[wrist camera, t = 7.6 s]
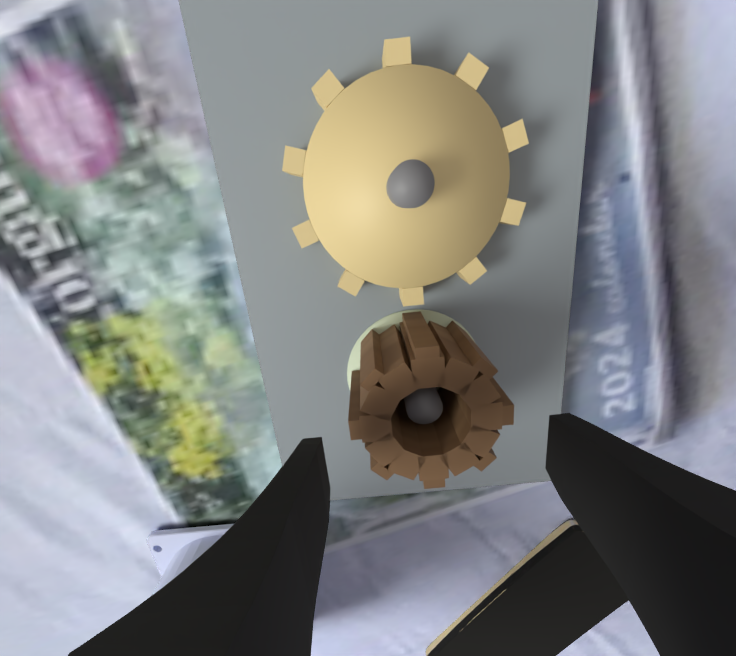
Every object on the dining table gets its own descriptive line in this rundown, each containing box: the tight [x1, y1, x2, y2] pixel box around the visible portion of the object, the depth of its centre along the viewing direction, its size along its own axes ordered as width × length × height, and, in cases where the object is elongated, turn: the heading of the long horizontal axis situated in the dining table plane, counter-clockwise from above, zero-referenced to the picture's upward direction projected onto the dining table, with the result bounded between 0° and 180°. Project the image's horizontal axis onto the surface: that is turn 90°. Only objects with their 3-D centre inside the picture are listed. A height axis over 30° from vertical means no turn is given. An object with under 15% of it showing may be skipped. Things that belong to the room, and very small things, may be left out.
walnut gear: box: [348, 311, 514, 489], centre depth 14 cm, size 6×6×4 cm
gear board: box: [179, 0, 598, 501], centre depth 14 cm, size 22×14×4 cm, turn 6°
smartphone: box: [426, 520, 629, 656], centre depth 23 cm, size 7×1×15 cm
